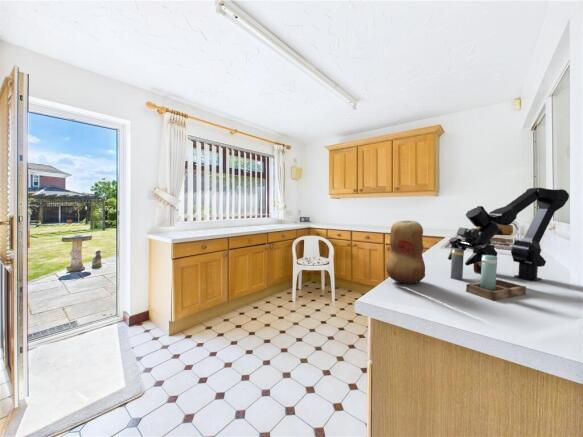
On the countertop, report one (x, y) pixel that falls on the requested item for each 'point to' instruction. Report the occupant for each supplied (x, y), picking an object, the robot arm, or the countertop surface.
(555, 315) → the countertop surface
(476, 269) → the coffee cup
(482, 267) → the plug teal
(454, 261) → the plug charcoal
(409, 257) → the butternut squash
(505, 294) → the slot rack
